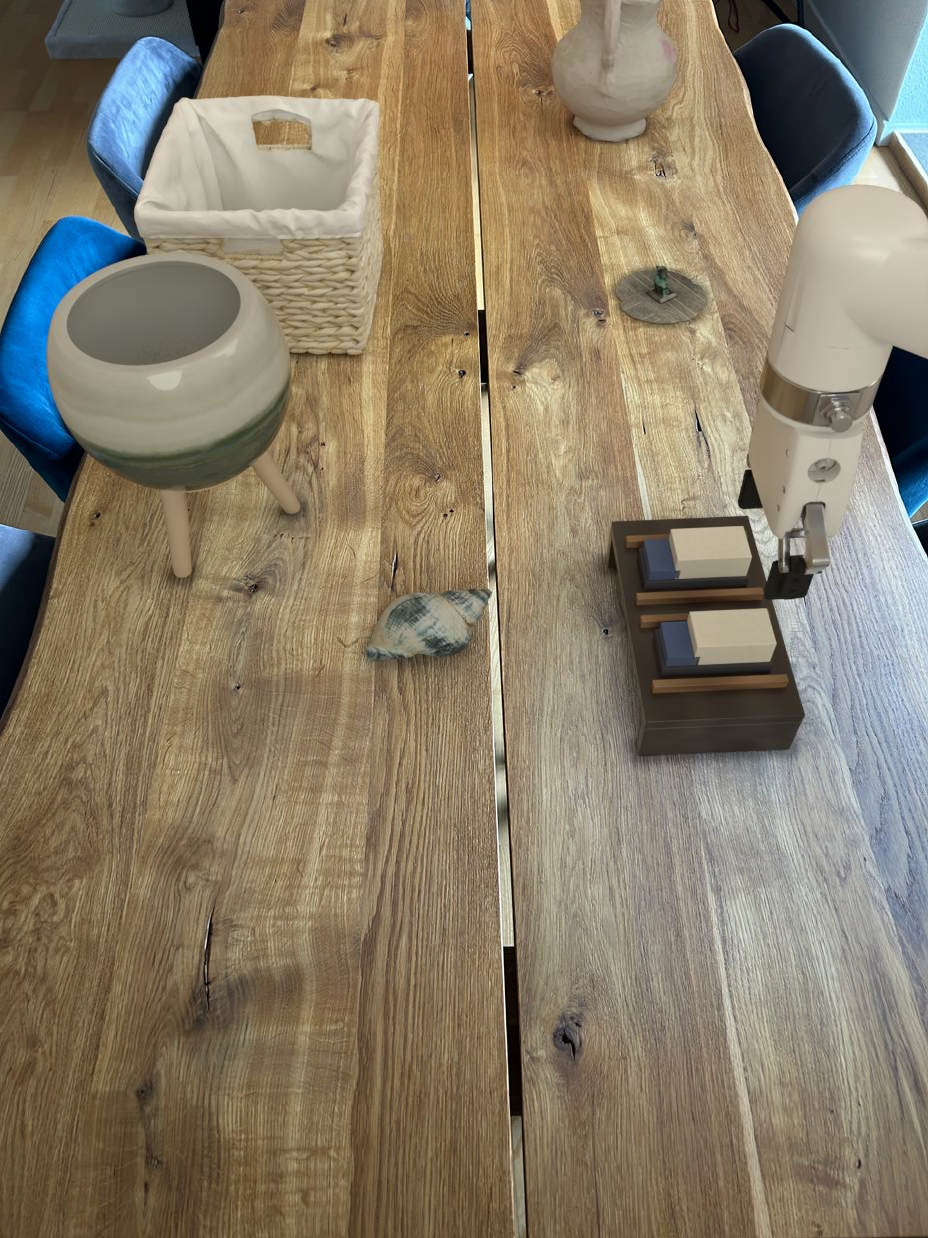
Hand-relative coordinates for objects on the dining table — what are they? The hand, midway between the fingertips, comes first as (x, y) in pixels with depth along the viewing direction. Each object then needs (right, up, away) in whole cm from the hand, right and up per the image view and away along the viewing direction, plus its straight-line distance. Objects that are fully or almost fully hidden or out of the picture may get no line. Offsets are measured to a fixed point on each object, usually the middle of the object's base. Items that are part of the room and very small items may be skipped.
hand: (769, 549), depth 81 cm
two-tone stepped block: (-2, -1, +18) cm, 18 cm away
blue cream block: (-2, -9, +12) cm, 15 cm away
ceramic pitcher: (-1, +74, +83) cm, 111 cm away
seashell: (-28, -8, +21) cm, 36 cm away
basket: (-48, +37, +56) cm, 83 cm away
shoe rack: (-2, -8, +19) cm, 21 cm away
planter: (-52, +5, +31) cm, 61 cm away
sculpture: (+2, +38, +55) cm, 67 cm away
